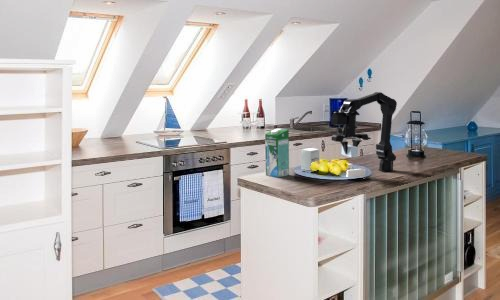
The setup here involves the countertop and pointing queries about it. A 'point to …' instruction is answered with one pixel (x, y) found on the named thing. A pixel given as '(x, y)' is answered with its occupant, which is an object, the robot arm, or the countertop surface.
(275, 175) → the milk carton
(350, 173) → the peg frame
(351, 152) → the pale blue block
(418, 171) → the countertop surface
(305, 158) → the supplement box
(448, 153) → the countertop surface
